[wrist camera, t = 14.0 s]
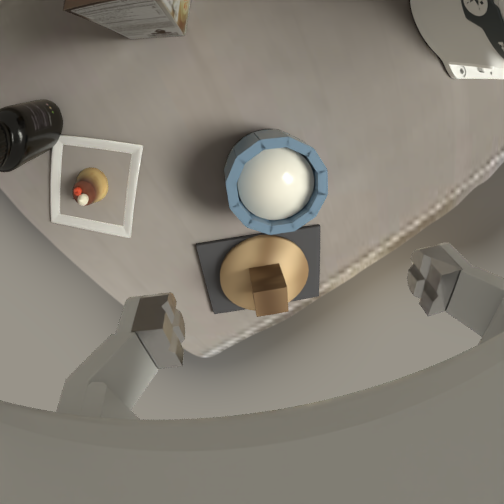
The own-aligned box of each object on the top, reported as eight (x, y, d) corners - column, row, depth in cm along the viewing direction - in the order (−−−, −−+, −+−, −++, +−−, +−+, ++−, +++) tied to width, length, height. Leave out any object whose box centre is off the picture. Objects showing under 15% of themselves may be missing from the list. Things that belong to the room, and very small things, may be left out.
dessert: (57, 132, 27) (37, 140, 23) (145, 143, 30) (134, 152, 26) (54, 219, 32) (38, 236, 28) (132, 234, 35) (123, 254, 31)
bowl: (307, 125, 30) (326, 133, 25) (311, 204, 36) (327, 226, 31) (218, 135, 30) (219, 145, 25) (231, 216, 35) (234, 240, 30)
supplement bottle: (42, 162, 28) (-14, 200, 18) (15, 127, 24) (-46, 153, 14) (74, 124, 26) (16, 147, 16) (46, 87, 23) (-18, 97, 13)
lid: (306, 228, 37) (320, 253, 32) (306, 298, 43) (317, 326, 38) (212, 242, 36) (212, 270, 31) (227, 311, 43) (230, 341, 38)
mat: (319, 224, 37) (320, 226, 37) (317, 293, 44) (318, 296, 43) (196, 243, 37) (196, 245, 36) (214, 311, 43) (214, 314, 43)
